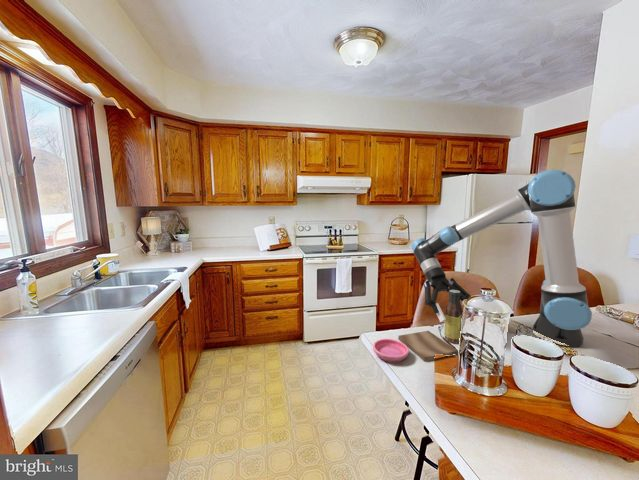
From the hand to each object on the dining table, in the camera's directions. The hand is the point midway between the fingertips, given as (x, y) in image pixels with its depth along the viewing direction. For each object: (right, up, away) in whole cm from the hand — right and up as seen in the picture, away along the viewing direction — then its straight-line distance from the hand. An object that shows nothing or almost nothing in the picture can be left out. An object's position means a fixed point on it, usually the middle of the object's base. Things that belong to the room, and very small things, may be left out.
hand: (458, 318), depth 103 cm
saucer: (-27, -11, -6) cm, 30 cm away
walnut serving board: (-13, -10, -1) cm, 16 cm away
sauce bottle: (0, -10, +3) cm, 10 cm away
